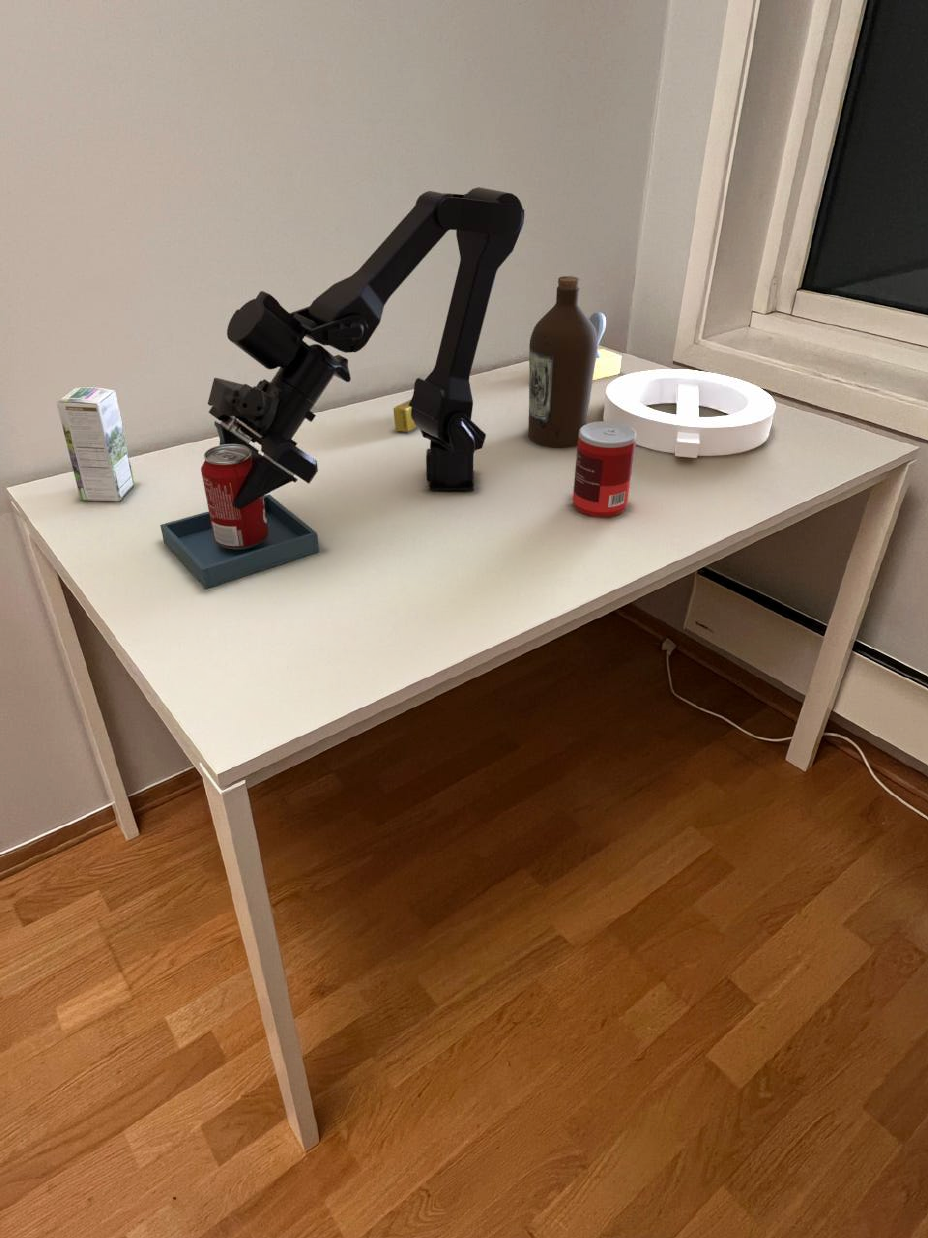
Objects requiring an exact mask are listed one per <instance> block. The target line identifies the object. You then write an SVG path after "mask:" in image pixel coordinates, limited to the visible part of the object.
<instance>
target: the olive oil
mask: <svg viewBox="0 0 928 1238" xmlns="http://www.w3.org/2000/svg"><path fill="white" fill-rule="evenodd" d="M557 284H558V285H557V287H556V294H555V295H556V296H555V298H556V299H555V304H554V305H553V306H552V307H551V308H550V309H549V310H548V311H547V312H546V313H545V314H544V315H543V316H542V317H541V318H540V319H539V320H538V322H537V323H536V324H535V325H534V328H533V329H532V332H531V335H530V338H529V346H528V347H529V348H528V351H529V352H528V358H529V359H528V363H529V364H528V365H529V366H528V379H529V380H528V383H529V384H528V424H527V425H528V426H527V427H528V428H527V429H528V430H527V435H528V438H529V440H531V441H532V442H534V443H535V444H537V445H540V446H544V447H548V448H569V447H570V448H571V447H575V446H578V437H579V432H580V428H581V427H582V426H584V425H586V424H588V416H589V409H590V403H591V394H592V387H593V381H594V380H593V376H594V369H595V363H596V357H597V350H599V345H598V339H597V333H596V330H595V328H594V326H593V324H592V323H591V321H590V320H589V318H588V316H587V314H585V312H584V311H583V310H582V308H581V306H580V305H579V297H580V288H579V285H580V278H579V277H577V276H573V275H564V276H563V275H562V276H560V277H558V279H557Z"/></svg>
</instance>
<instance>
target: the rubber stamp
mask: <svg viewBox="0 0 928 1238" xmlns="http://www.w3.org/2000/svg"><path fill="white" fill-rule="evenodd" d="M588 319H589V320H590V321H591V323H592V324H593V326H594V328H595V330H596V333H597V339H598V346H599V345H600V342H601V340H602V337H603V335H604V333H605V331H606V327H607V318H606V316H605V314H604V313H602V312H601V311H595V312H593V313H592V314H591V315H590V316H589V318H588ZM621 364H622V355H620V354H617V353H615V352H611V351H609V350H606V349H603V348H599V349H598V350H597V357H596V363H595V369H594V376H593V381H596V380H601V379H605V378H609V377H612V376H617V375H620V373H621Z"/></svg>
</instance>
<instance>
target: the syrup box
mask: <svg viewBox="0 0 928 1238" xmlns="http://www.w3.org/2000/svg"><path fill="white" fill-rule="evenodd" d="M56 407H57V408H56V409H57V410H58V415H59V419H60V423H61V427H62V431H63V435H64V440H65V443H66V448H67V451H68V455H69V459H70V464H71V467H72V471H73V475H74V479H75V483H76V486H77V490H78V495H79V499H80V500H81V501H89V502H90V501H91V502H92V501H94V502H121V500H123V498H124V497H125V496H126V495H127V494H128V493H129V492H130V490H132V488H133V487H134V486H135V480H134V474H133V471H132V470H133V469H132V465H131V460H130V456H129V451H128V446H127V441H126V436H125V432H124V427H123V421H122V418H121V412H120V407H119V402H118V398H117V393H116V390H114V389H109V388H102V387H94V386H89V387H88V386H87V387H86V386H85V387H75V388H73V389H72V390H71V391H70V392H68V393H67V394H65V396H63V397H62V398H60V399H59V400H58V401H57V402H56Z"/></svg>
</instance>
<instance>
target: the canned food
mask: <svg viewBox="0 0 928 1238" xmlns="http://www.w3.org/2000/svg"><path fill="white" fill-rule="evenodd" d="M636 445H637V444H636V431H635V430H634V429H633V428H631V427H629V426H627V425H625V424H621V423H617V422H608V421H604V420H602V421H594V422H589V423H587V424H586V425H584V426H582V427H581V428H580V432H579V437H578V445H576V446H577V448H576V457H575V459H576V460H575V469H574V470H575V471H574V481H573V482H574V483H573V492H572V493H573V494H572V502H573V506H574V508H575V509H576V510H577V511H578V512H580V513H582V514H584V515H587V516H590V517H596V518H609V517H614V516H617V515H619V514H621V513H623V512H624V510H625V509H626V507H627V505H628V502H629V496H630V495H629V494H630V487H631V481H632V474H633V466H634V460H635V459H634V458H635V451H636Z"/></svg>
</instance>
